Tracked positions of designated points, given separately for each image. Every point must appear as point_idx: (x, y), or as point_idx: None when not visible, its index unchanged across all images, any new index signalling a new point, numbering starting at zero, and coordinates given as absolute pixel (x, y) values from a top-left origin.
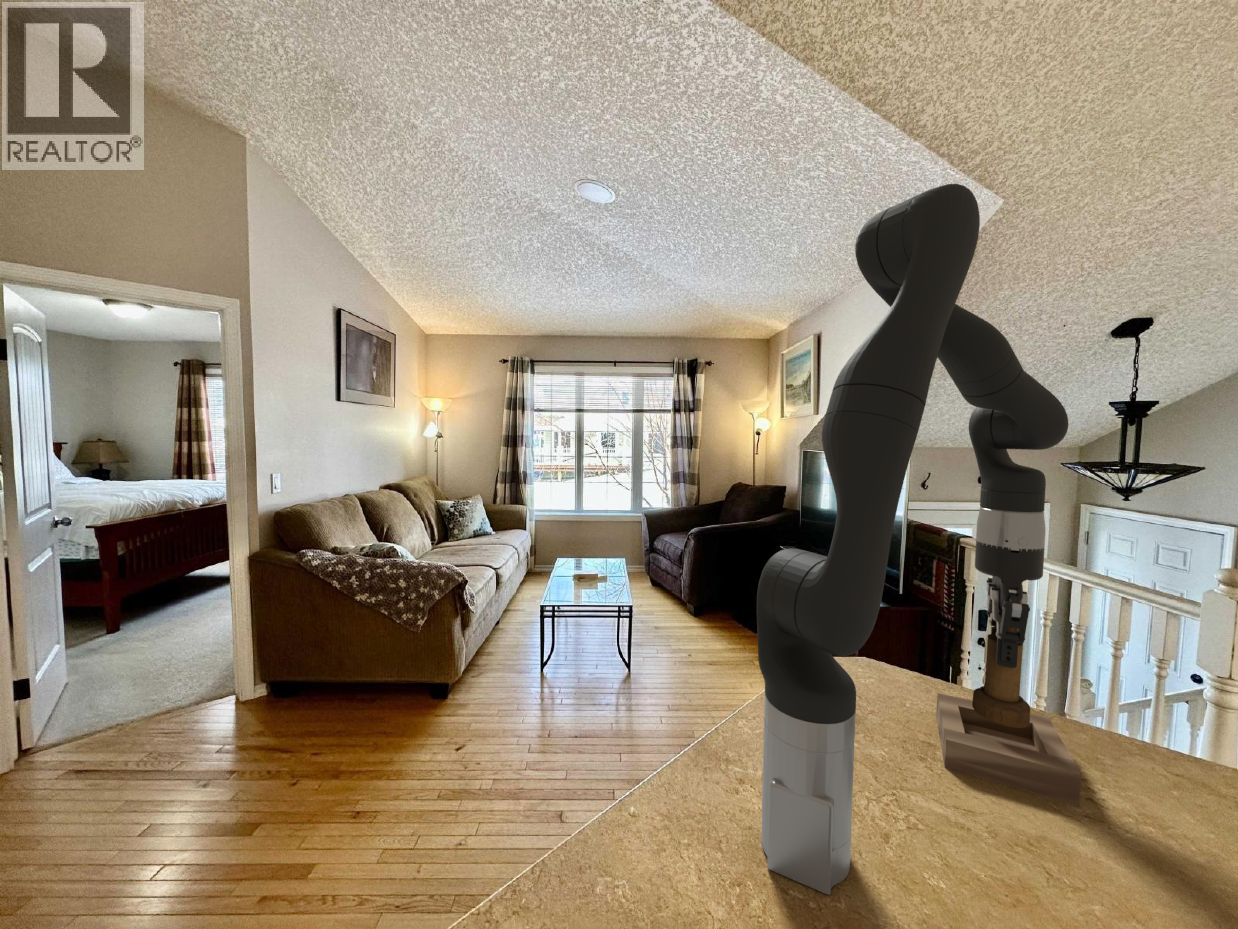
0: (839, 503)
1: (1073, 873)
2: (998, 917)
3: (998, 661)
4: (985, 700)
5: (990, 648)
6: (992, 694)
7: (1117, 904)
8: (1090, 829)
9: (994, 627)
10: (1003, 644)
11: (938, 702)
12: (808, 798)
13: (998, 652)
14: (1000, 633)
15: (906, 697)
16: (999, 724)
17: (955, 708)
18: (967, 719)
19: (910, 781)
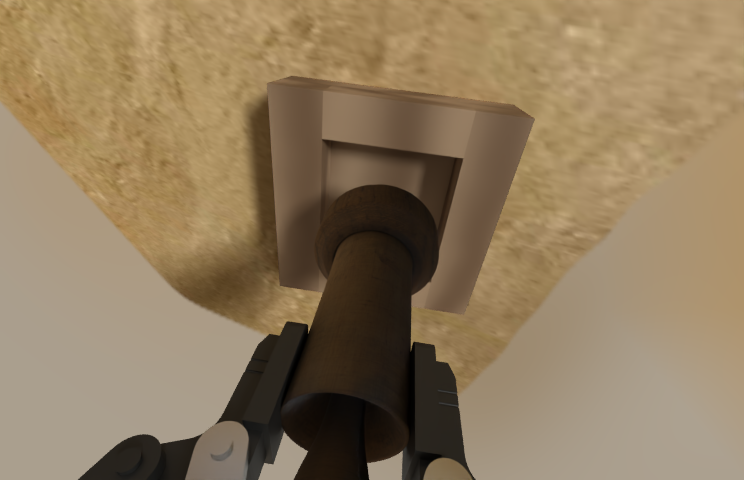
0: None
1: (142, 194)
2: None
3: (283, 331)
4: (337, 219)
5: (323, 350)
6: (344, 244)
7: (124, 219)
8: (249, 247)
9: (429, 460)
10: (225, 412)
11: (486, 111)
12: None
13: (271, 361)
14: (116, 471)
15: (623, 36)
16: (441, 226)
17: (446, 148)
18: (454, 169)
19: None
